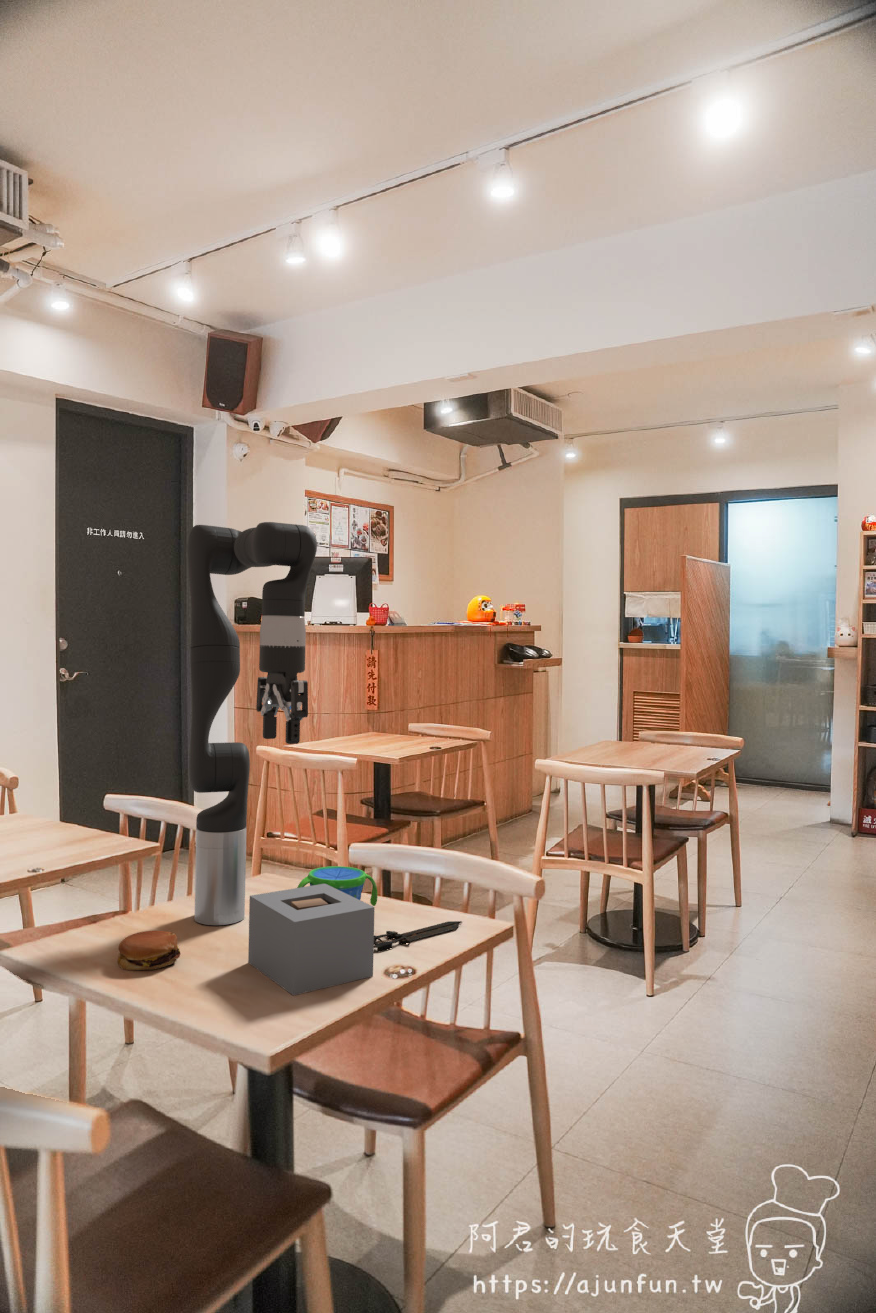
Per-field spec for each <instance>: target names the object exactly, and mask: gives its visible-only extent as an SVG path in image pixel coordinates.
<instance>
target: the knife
mask: <svg viewBox="0 0 876 1313" xmlns="http://www.w3.org/2000/svg"><path fill="white" fill-rule="evenodd" d="M461 923H463V921H462V920H460V921H459V920H457V921H456V920H455V921H453V920H451V921H450V920H449V921H446V922H441V923H437V924H434V925H431V926H430V925H429V926H427V927H423V928H418V929H415V930H411V931H408V932H403V933H398V932H397V931H394V930H386V931H385V934H379V935H375V934H374V949H376V951H377V952H376V953H380V952H381V951H382V952H385V951H388V950H387V949H389V950H391V949H390V948H392V949H393V944H396V943H398V945H402V944H406V943H409V944H411V941H417V940H420V939H423V938H426V937H429V936H430V937H431V936H435V935H439V934H442V933H445V932H448V931H451V930H456V929H457V928H458V926H459V925H460V924H461ZM386 936H387V940H389V939H390V940H389V941H384V940H382V938H385V937H386ZM393 938H395V939H393ZM419 938H420V939H419ZM391 939H392V940H391ZM377 940H378V941H379V942H377ZM401 943H402V944H401Z"/></svg>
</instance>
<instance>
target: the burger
mask: <svg viewBox="0 0 876 1313" xmlns="http://www.w3.org/2000/svg"><path fill="white" fill-rule="evenodd" d="M178 941H179V940H178V937H177V935H176V934H175V933H174V932H170V931H167V930H166V931H165V930H145V931H140V932H136V933H132V934H130V935H128V936H126V937H125V938H124V939H122V941H120V943H119V945H118V946H117V947H118V948H117V949H118V951H119V952H118V956H117V964H118V966H119V968H121V970H125V971H147V970H150V971H151V970H152V971H153V970H157V969H161V968H165V967H167V966H170V965H173V964H174V963H176V962H177V959H179V958H180V957H181V951H180V950H181V949H180V948H179V946H178Z"/></svg>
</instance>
